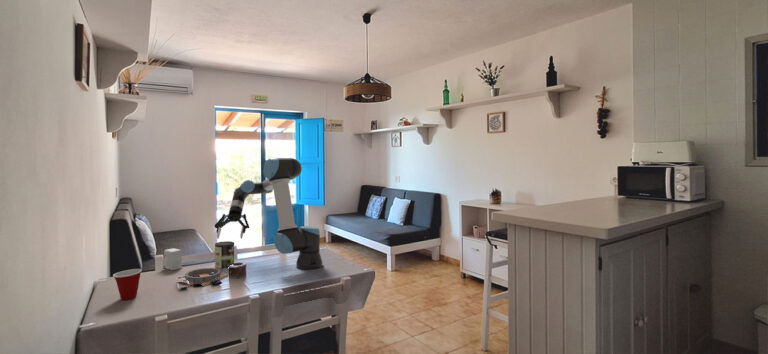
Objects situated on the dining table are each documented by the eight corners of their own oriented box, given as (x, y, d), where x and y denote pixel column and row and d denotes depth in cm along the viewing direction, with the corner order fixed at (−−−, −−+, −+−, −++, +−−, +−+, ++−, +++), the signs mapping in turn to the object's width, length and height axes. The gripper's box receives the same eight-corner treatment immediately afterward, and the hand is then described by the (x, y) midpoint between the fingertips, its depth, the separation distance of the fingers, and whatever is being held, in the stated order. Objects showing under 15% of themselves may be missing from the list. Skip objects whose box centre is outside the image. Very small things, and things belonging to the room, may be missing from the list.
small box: (182, 268, 216) (181, 249, 216) (172, 270, 212) (171, 251, 211) (174, 265, 221) (173, 247, 220) (164, 268, 216) (164, 249, 215)
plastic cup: (122, 293, 176) (121, 268, 175) (147, 293, 177) (146, 268, 176) (107, 302, 165) (106, 275, 164) (133, 302, 166) (133, 275, 165)
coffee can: (237, 265, 224) (237, 241, 223) (230, 270, 214) (229, 245, 213) (219, 264, 224) (219, 241, 224) (211, 269, 214) (211, 245, 213)
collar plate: (228, 276, 204) (228, 269, 203) (204, 286, 187) (204, 279, 187) (202, 272, 209) (202, 266, 208) (176, 282, 192) (176, 275, 192)
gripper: (257, 212, 246) (251, 240, 232) (217, 212, 244) (209, 240, 230) (255, 205, 241) (249, 233, 227) (214, 205, 238) (206, 233, 224)
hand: (229, 237), depth 228 cm, fingers open, 13 cm apart
